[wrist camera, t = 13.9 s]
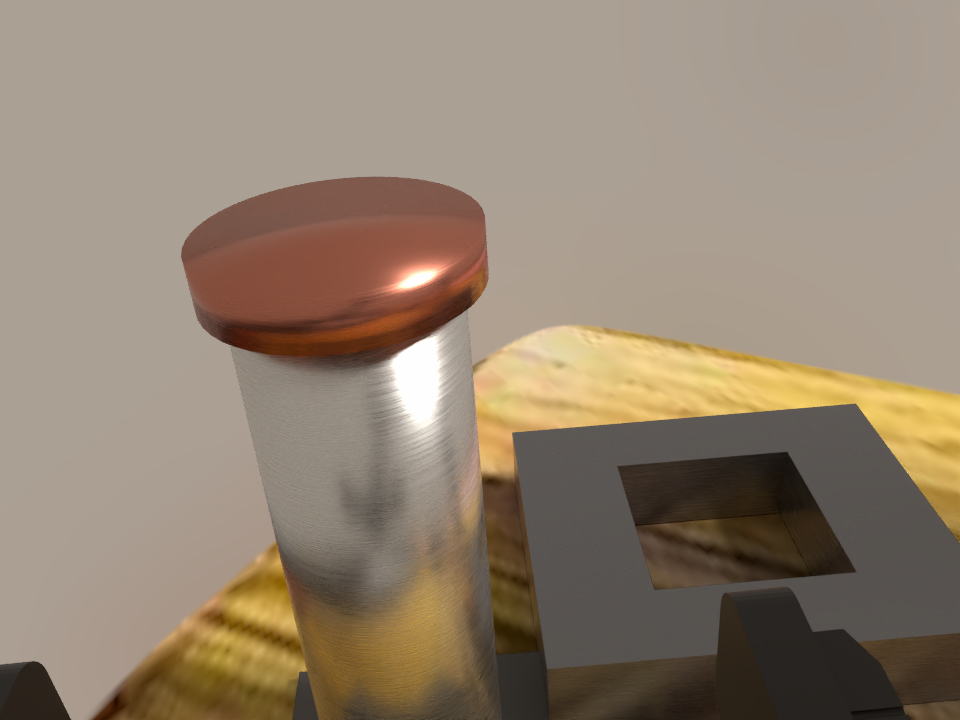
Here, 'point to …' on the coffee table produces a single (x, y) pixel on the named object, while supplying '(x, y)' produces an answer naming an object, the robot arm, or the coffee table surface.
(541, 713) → the mat
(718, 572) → the coffee table surface
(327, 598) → the capped metal cylinder
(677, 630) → the bore housing
